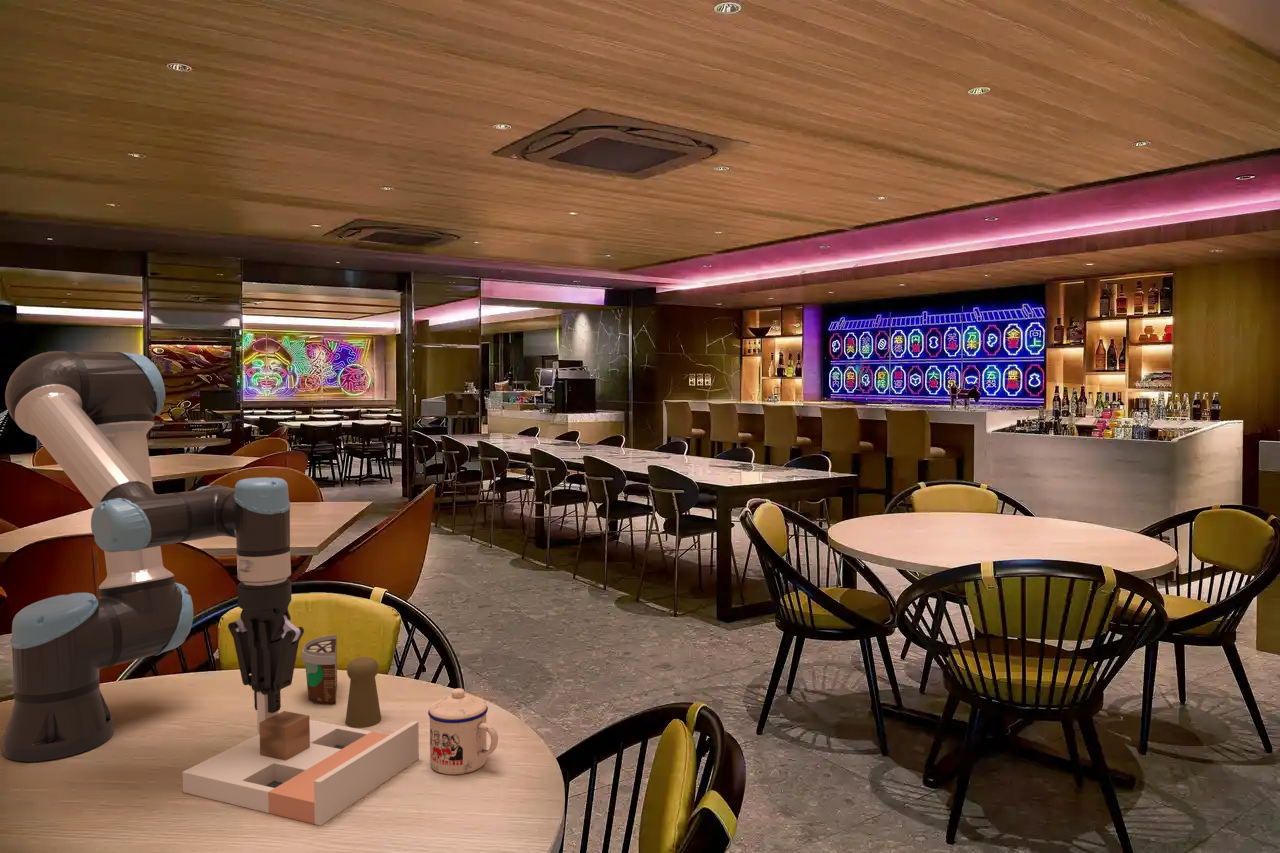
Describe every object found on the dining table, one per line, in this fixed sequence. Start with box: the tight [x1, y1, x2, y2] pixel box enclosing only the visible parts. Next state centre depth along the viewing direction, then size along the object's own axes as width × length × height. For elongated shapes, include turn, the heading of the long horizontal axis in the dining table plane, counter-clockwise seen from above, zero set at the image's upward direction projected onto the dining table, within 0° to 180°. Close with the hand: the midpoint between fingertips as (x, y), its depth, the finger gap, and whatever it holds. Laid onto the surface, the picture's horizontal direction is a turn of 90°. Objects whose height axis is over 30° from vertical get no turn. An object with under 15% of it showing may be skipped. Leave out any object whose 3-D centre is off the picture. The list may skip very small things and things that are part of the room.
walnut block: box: [259, 710, 311, 761], centre depth 134 cm, size 5×5×5 cm
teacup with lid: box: [427, 687, 499, 775], centre depth 136 cm, size 12×9×12 cm
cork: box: [344, 656, 382, 729], centre depth 153 cm, size 6×6×11 cm
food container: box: [300, 634, 338, 706], centre depth 164 cm, size 12×6×10 cm, turn 17°
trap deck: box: [181, 719, 420, 827], centre depth 133 cm, size 25×22×6 cm
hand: (268, 731), depth 135 cm, fingers closed
